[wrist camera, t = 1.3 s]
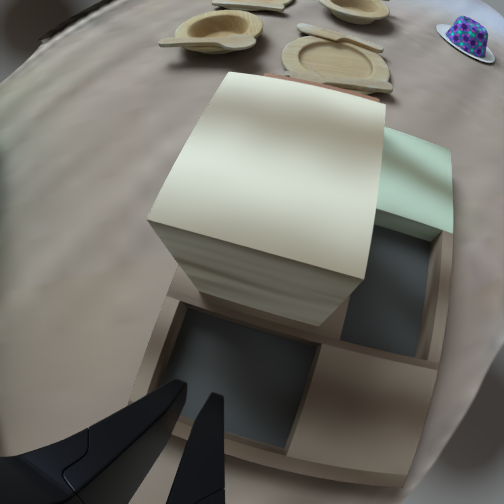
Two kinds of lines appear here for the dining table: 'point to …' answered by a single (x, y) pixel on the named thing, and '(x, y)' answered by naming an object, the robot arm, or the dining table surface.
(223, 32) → the tableware set
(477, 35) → the purple patterned hat
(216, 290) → the ash block
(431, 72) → the dining table surface
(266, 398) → the board
